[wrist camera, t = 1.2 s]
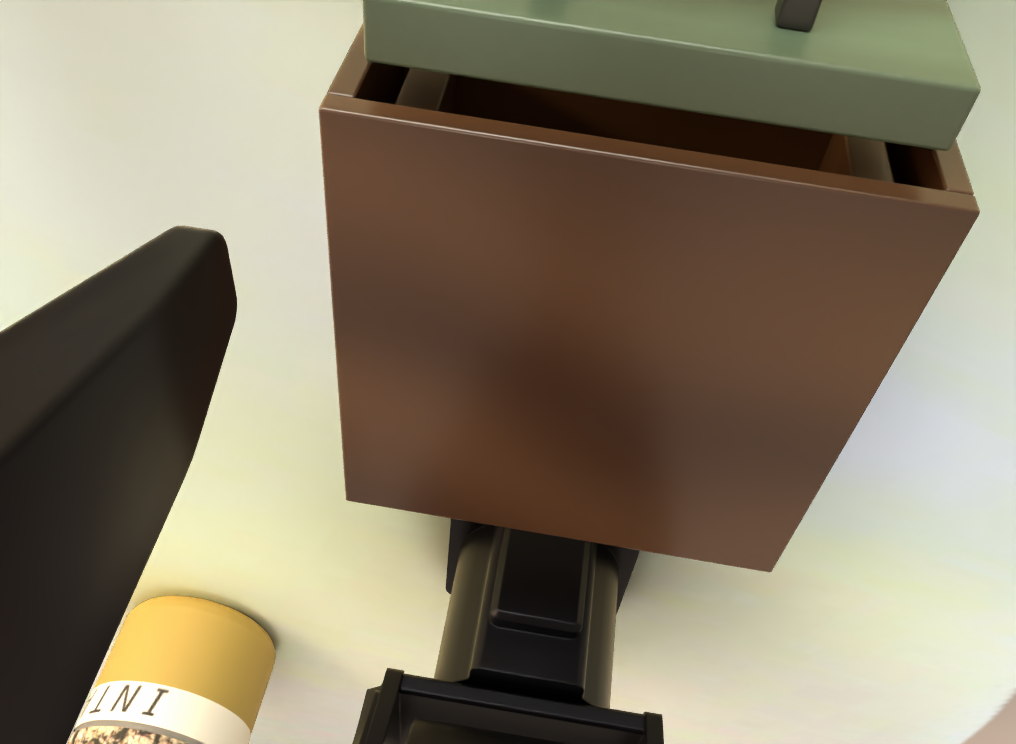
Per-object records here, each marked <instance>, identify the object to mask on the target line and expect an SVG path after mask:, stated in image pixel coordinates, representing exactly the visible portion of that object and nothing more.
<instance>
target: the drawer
mask: <svg viewBox="0 0 1016 744" xmlns="http://www.w3.org/2000/svg"><path fill="white" fill-rule="evenodd" d="M363 18H364V54H365V58H366V60H367V61H369V62H375V63H382V64H388V65H394V66H401V67H407V68H410V69H409V71H408V73H407V76H406V78H405V80H404V83H403V85H402V88H401V90H400V92H399V95H398V97H397V100H396V102H395V105H401V106H408V107H414V108H420V109H427V110H433V111H440V112H446V113H452V114H459V115H465V116H471V117H478V118H484V119H491V120H497V121H503V122H510V123H516V124H522V125H529V126H535V127H542V128H548V129H554V130H561V131H567V132H573V133H580V134H586V135H593V136H599V137H605V138H612V139H618V140H624V141H631V142H637V143H644V144H650V145H656V146H663V147H669V148H675V149H682V150H688V151H695V152H701V153H707V154H714V155H720V156H726V157H733V158H739V159H746V160H752V161H758V162H765V163H771V164H777V165H784V166H790V167H797V168H803V169H809V170H816V171H822V172H828V173H835V174H841V175H848V176H854V177H860V178H867V179H873V180H879V181H886V182H892V183H895V180H894V176H893V172H892V168H891V164H890V160H889V156H888V151H887V147H886V143H885V142H889V143H896V144H902V145H908V146H915V147H921V148H928V149H934V150H941V151H949V150H950V149H951V147H952V145H953V143H954V141H955V139H956V137H957V135H958V133H959V132H960V130H961V128H962V126H963V124H964V122H965V120H966V118H967V116H968V114H969V112H970V110H971V108H972V107H973V105H974V103H975V101H976V99H977V97H978V95H979V93H980V85H979V82H978V80H977V77H976V74H975V72H974V69H973V67H972V64H971V62H970V59H969V57H968V54H967V52H966V49H965V46H964V44H963V41H962V39H961V36H960V34H959V31H958V29H957V26H956V23H955V21H954V18H953V16H952V13H951V11H950V8H949V6H948V3H947V0H363Z"/></svg>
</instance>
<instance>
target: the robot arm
mask: <svg viewBox="0 0 1016 744" xmlns="http://www.w3.org/2000/svg"><path fill="white" fill-rule="evenodd" d="M236 312H237V297H236V291H235V286H234V280H233V275H232V269H231V264H230V259H229V253H228V248H227V244H226V241H225V239H224V237H223V236H222V235H221V234H220V233H219V232H217V231H214V230H208V229H202V228H195V227H189V226H176V227H173V228H171V229H169V230H167V231H166V232H164V233H162V234H161V235H159V236H157V237H156V238H154V239H152V240H151V241H149V242H147V243H146V244H144V245H142V246H141V247H139V248H138V249H136V250H134V251H133V252H131V253H129V254H128V255H126V256H124V257H123V258H121V259H119V260H118V261H116V262H114V263H113V264H111V265H110V266H108V267H106V268H105V269H103V270H101V271H100V272H98V273H96V274H95V275H93V276H91V277H90V278H88V279H86V280H85V281H83V282H82V283H80V284H78V285H77V286H75V287H73V288H72V289H70V290H68V291H67V292H65V293H63V294H62V295H60V296H59V297H57V298H55V299H54V300H52V301H50V302H49V303H47V304H45V305H44V306H42V307H40V308H39V309H37V310H35V311H34V312H32V313H31V314H29V315H27V316H26V317H24V318H22V319H21V320H19V321H17V322H16V323H14V324H12V325H11V326H9V327H7V328H6V329H4V330H3V331H1V332H0V744H66V743H67V740H68V738H69V736H70V734H71V731H72V729H73V727H74V725H75V722H76V720H77V718H78V716H79V713H80V711H81V709H82V707H83V705H84V702H85V700H86V698H87V696H88V693H89V691H90V689H91V687H92V684H93V682H94V680H95V678H96V675H97V673H98V671H99V669H100V666H101V664H102V662H103V660H104V657H105V655H106V653H107V651H108V649H109V646H110V644H111V642H112V640H113V637H114V635H115V633H116V631H117V628H118V626H119V624H120V622H121V619H122V617H123V615H124V613H125V610H126V608H127V606H128V604H129V601H130V599H131V597H132V595H133V593H134V590H135V588H136V586H137V584H138V581H139V579H140V577H141V575H142V572H143V570H144V568H145V566H146V563H147V561H148V559H149V557H150V554H151V552H152V550H153V548H154V545H155V543H156V541H157V539H158V537H159V534H160V532H161V530H162V528H163V525H164V523H165V521H166V519H167V516H168V514H169V512H170V510H171V507H172V505H173V503H174V501H175V498H176V496H177V494H178V492H179V489H180V487H181V485H182V483H183V480H184V478H185V476H186V473H187V471H188V468H189V466H190V463H191V461H192V458H193V455H194V452H195V449H196V446H197V443H198V440H199V438H200V434H201V431H202V428H203V424H204V421H205V418H206V415H207V411H208V408H209V405H210V402H211V398H212V395H213V392H214V388H215V385H216V382H217V379H218V375H219V372H220V369H221V365H222V362H223V359H224V356H225V352H226V349H227V346H228V343H229V339H230V336H231V333H232V329H233V326H234V323H235V318H236ZM639 551H640V550H635V549H629V548H624V547H618V546H612V545H606V544H600V543H594V542H588V541H582V540H576V539H571V538H565V537H559V536H553V535H547V534H541V533H535V532H529V531H523V530H518V529H512V528H506V527H500V526H494V525H488V524H482V523H476V522H470V521H465V520H459V519H453V518H451V528H450V541H449V553H448V566H447V579H446V591H447V592H448V593H449V594H451V597H450V602H449V607H448V612H447V617H446V622H445V627H444V632H443V637H442V641H441V646H440V651H439V656H438V661H437V666H436V671H435V676H434V679H432V678H426V677H421V676H415V675H409V674H404V671H403V670H397V669H391V668H387V670H386V673H385V677H384V680H383V683H382V685H381V686H379V687H375V688H371V689H367V692H366V696H365V700H364V704H363V707H362V711H361V715H360V719H359V723H358V727H357V731H356V734H355V737H354V740H353V743H352V744H664V738H663V720H662V714H656V713H650V712H644V714H638V713H632V712H626V711H620V710H614V709H610V696H611V681H612V666H613V652H614V637H615V622H616V614H617V612H618V609H619V606H620V603H621V601H622V598H623V595H624V592H625V590H626V587H627V584H628V582H629V579H630V576H631V573H632V571H633V568H634V565H635V562H636V560H637V557H638V554H639Z"/></svg>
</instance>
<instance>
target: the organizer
mask: <svg viewBox="0 0 1016 744" xmlns="http://www.w3.org/2000/svg"><path fill="white" fill-rule="evenodd" d="M409 69H410V68H407V67H401V66H394V65H388V64H382V63H375V62H369V61H367V60H366V58H365V54H364V22H363V24H362V26H361V28H360V30H359V32H358V34H357V36H356V38H355V40H354V42H353V44H352V45H351V47H350V49H349V51H348V53H347V55H346V57H345V59H344V61H343V63H342V65H341V67H340V69H339V71H338V72H337V74H336V76H335V78H334V80H333V82H332V84H331V86H330V88H329V90H328V92H327V95H326V96H325V98H324V99H323V101H322V103H321V105H320V107H319V120H320V134H321V149H322V163H323V177H324V191H325V206H326V220H327V234H328V249H329V263H330V277H331V291H332V306H333V320H334V334H335V348H336V363H337V377H338V391H339V405H340V420H341V434H342V448H343V463H344V477H345V491H346V500H348V501H353V502H358V503H364V504H370V505H376V506H382V507H388V508H394V509H400V510H406V511H412V512H417V513H423V514H429V515H435V516H441V517H447V518H453V519H459V520H465V521H470V522H476V523H482V524H488V525H494V526H500V527H506V528H512V529H518V530H523V531H529V532H535V533H541V534H547V535H553V536H559V537H565V538H571V539H576V540H582V541H588V542H594V543H600V544H606V545H612V546H618V547H624V548H629V549H635V550H641V551H647V552H653V553H659V554H665V555H671V556H677V557H682V558H688V559H694V560H700V561H706V562H712V563H718V564H724V565H730V566H735V567H741V568H747V569H753V570H759V571H765V572H771V571H772V570H773V568H774V566H775V565H776V563H777V561H778V559H779V558H780V556H781V554H782V552H783V551H784V549H785V547H786V546H787V544H788V542H789V540H790V539H791V537H792V535H793V534H794V532H795V530H796V528H797V527H798V525H799V523H800V522H801V520H802V518H803V516H804V515H805V513H806V511H807V509H808V508H809V506H810V504H811V503H812V501H813V499H814V497H815V496H816V494H817V492H818V491H819V489H820V487H821V485H822V484H823V482H824V480H825V479H826V477H827V475H828V473H829V472H830V470H831V468H832V466H833V465H834V463H835V461H836V460H837V458H838V456H839V454H840V453H841V451H842V449H843V448H844V446H845V444H846V442H847V441H848V439H849V437H850V436H851V434H852V432H853V430H854V429H855V427H856V425H857V423H858V422H859V420H860V418H861V417H862V415H863V413H864V411H865V410H866V408H867V406H868V405H869V403H870V401H871V399H872V398H873V396H874V394H875V393H876V391H877V389H878V387H879V386H880V384H881V382H882V381H883V379H884V377H885V375H886V374H887V372H888V370H889V368H890V367H891V365H892V363H893V362H894V360H895V358H896V356H897V355H898V353H899V351H900V350H901V348H902V346H903V344H904V343H905V341H906V339H907V338H908V336H909V334H910V332H911V331H912V329H913V327H914V325H915V324H916V322H917V320H918V319H919V317H920V315H921V313H922V312H923V310H924V308H925V307H926V305H927V303H928V301H929V300H930V298H931V296H932V295H933V293H934V291H935V289H936V288H937V286H938V284H939V282H940V281H941V279H942V277H943V276H944V274H945V272H946V270H947V269H948V267H949V265H950V264H951V262H952V260H953V258H954V257H955V255H956V253H957V252H958V250H959V248H960V246H961V245H962V243H963V241H964V239H965V238H966V236H967V234H968V233H969V231H970V229H971V227H972V226H973V224H974V222H975V221H976V219H977V217H978V215H979V213H980V210H979V207H978V204H977V201H976V198H975V197H974V196H973V194H974V192H973V189H972V186H971V183H970V180H969V177H968V174H967V171H966V168H965V165H964V162H963V159H962V156H961V153H960V150H959V147H958V144H957V141H956V139H955V141H954V143H953V145H952V147H951V149H950V150H949V151H941V150H934V149H928V148H921V147H915V146H908V145H902V144H896V143H889V142H885V143H886V147H887V151H888V156H889V160H890V164H891V168H892V172H893V176H894V180H895V183H892V182H886V181H879V180H873V179H867V178H860V177H854V176H848V175H841V174H835V173H828V172H822V171H816V170H809V169H803V168H797V167H790V166H784V165H777V164H771V163H765V162H758V161H752V160H746V159H739V158H733V157H726V156H720V155H714V154H707V153H701V152H695V151H688V150H682V149H675V148H669V147H663V146H656V145H650V144H644V143H637V142H631V141H624V140H618V139H612V138H605V137H599V136H593V135H586V134H580V133H573V132H567V131H561V130H554V129H548V128H542V127H535V126H529V125H522V124H516V123H510V122H503V121H497V120H491V119H484V118H478V117H471V116H465V115H459V114H452V113H446V112H440V111H433V110H427V109H420V108H414V107H408V106H401V105H395V102H396V100H397V97H398V95H399V92H400V90H401V88H402V85H403V83H404V80H405V78H406V76H407V73H408V71H409Z"/></svg>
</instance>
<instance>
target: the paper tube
mask: <svg viewBox="0 0 1016 744" xmlns="http://www.w3.org/2000/svg"><path fill="white" fill-rule="evenodd" d="M275 657H276V653H275V649H274V645H273V642H272V640H271V638H270V636H269V635H268V634H267V633H266V631H265V630H264V629H263V628H262V627H261V626H260V625H259V624H257V623H256V622H255V621H253V620H252V619H251V618H249V617H247V616H246V615H244V614H242V613H240V612H238V611H236V610H234V609H232V608H230V607H227V606H225V605H222V604H219V603H216V602H213V601H209V600H205V599H200V598H195V597H188V596H162V597H156V598H152V599H149V600H146V601H144V602H142V603H141V604H139V605H138V606H137V607H135V608H134V609H132V611H131V612H130V613H129V615H128V616H127V618H126V620H125V622H124V624H123V627H122V629H121V631H120V633H119V635H118V637H117V640H116V642H115V644H114V646H113V648H112V650H111V653H110V655H109V657H108V659H107V661H106V663H105V666H104V668H103V670H102V672H101V674H100V676H99V679H98V681H97V683H96V685H95V687H94V689H93V691H92V692H91V695H90V697H89V699H88V701H87V703H86V705H85V708H84V710H83V712H82V714H81V716H80V718H79V721H78V723H77V725H76V727H75V729H74V733H73V734H72V736H71V738H70V740H69V742H68V744H249V741H250V737H251V733H252V730H253V727H254V724H255V721H256V718H257V715H258V712H259V709H260V706H261V703H262V700H263V697H264V694H265V690H266V687H267V684H268V681H269V678H270V675H271V672H272V669H273V666H274V663H275Z"/></svg>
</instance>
